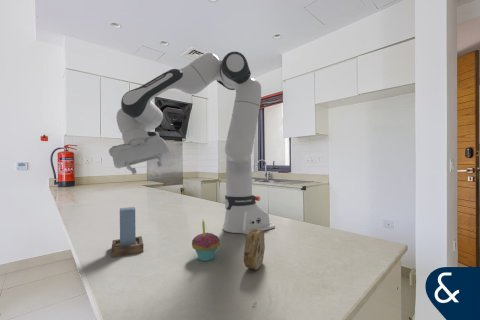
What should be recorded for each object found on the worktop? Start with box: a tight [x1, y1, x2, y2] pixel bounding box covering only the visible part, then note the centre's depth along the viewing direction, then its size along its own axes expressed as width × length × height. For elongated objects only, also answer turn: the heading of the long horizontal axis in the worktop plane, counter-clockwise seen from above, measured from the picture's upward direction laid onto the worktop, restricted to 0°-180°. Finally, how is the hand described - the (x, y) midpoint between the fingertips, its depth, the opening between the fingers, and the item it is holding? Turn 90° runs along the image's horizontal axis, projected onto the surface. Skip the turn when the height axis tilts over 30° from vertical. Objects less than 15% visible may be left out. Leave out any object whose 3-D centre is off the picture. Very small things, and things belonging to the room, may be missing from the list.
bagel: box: [243, 229, 266, 271], centre depth 64 cm, size 10×4×10 cm, turn 157°
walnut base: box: [110, 235, 144, 258], centre depth 77 cm, size 9×9×2 cm
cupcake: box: [191, 220, 221, 262], centre depth 70 cm, size 9×8×12 cm
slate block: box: [119, 206, 137, 247], centre depth 77 cm, size 4×4×12 cm
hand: (147, 169), depth 88 cm, fingers open, 8 cm apart
